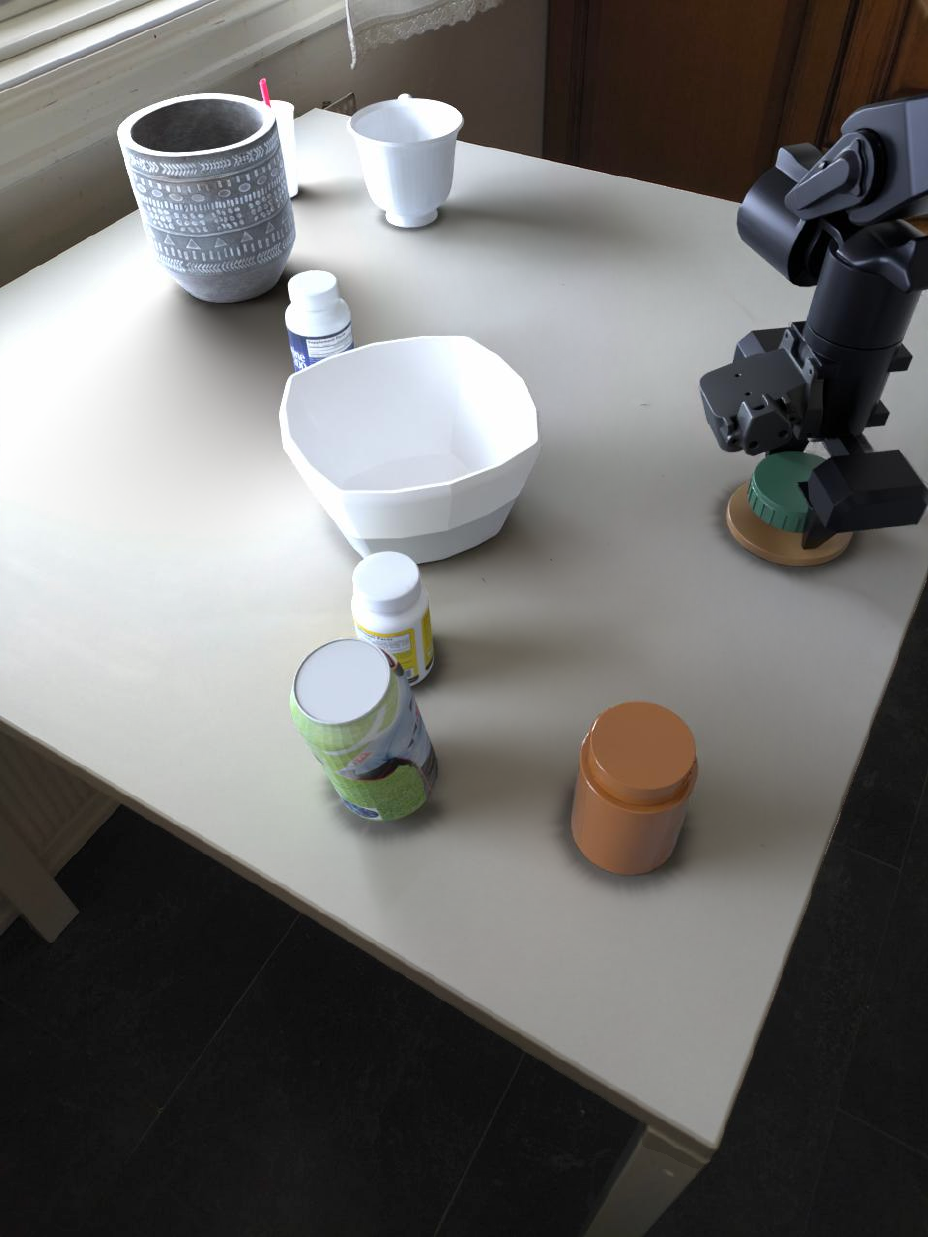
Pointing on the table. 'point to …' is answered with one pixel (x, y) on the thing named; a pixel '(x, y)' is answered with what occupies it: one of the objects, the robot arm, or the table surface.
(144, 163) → the planter
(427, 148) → the teacup
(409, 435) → the bowl
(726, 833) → the table surface
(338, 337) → the pill bottle
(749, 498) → the jar lid
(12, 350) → the table surface
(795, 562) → the coaster
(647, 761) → the jam jar
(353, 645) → the beverage can
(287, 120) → the cup
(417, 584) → the supplement bottle
